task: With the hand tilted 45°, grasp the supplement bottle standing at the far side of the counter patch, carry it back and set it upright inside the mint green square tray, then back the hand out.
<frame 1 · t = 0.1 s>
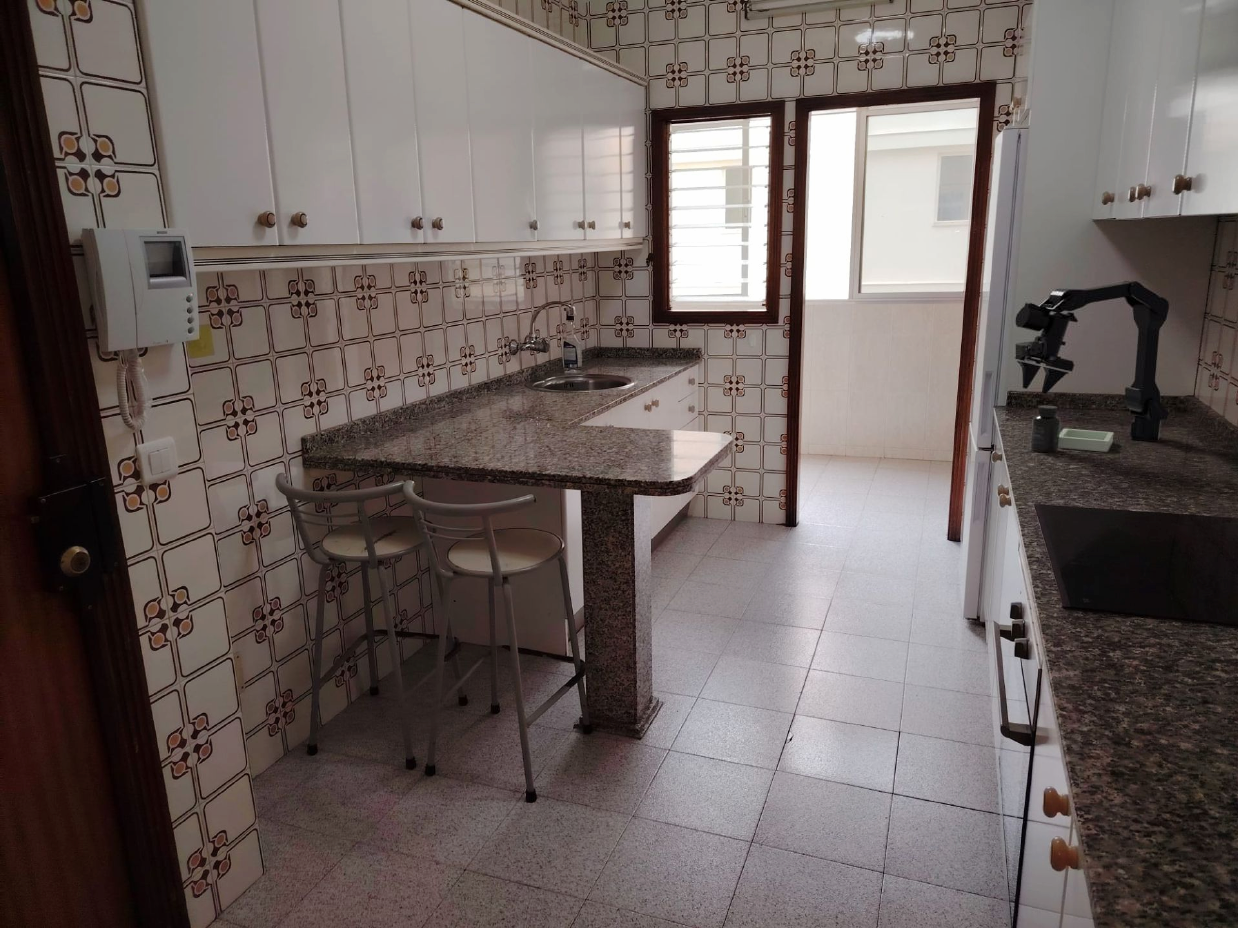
hand: (1033, 391, 233), 15 cm above the counter, tool pointing down, fingers open, 9 cm apart
mint green square tray: (1084, 444, 236), on the counter
supplement bottle: (1043, 450, 232), on the counter
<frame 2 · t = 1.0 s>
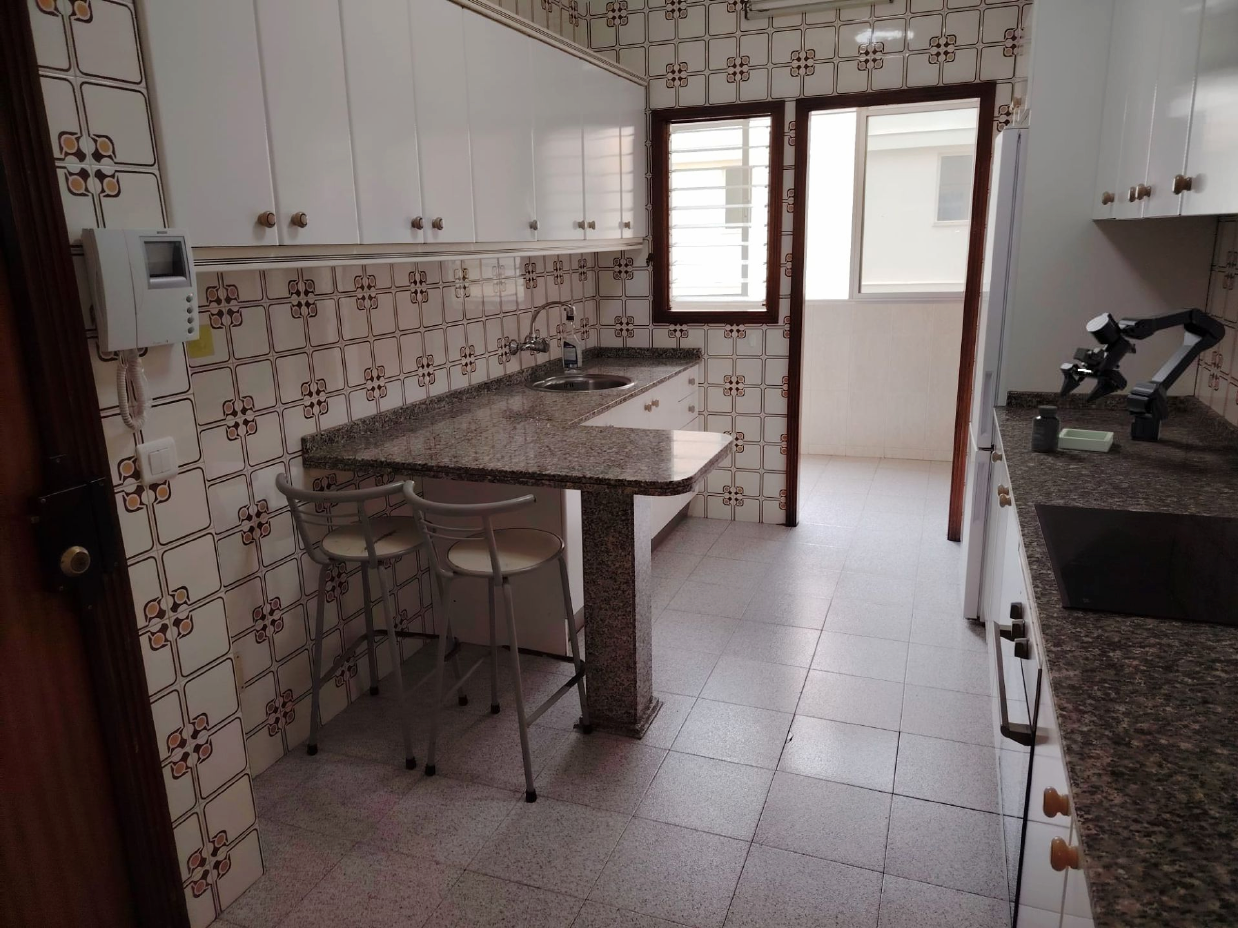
hand: (1072, 399, 231), 13 cm above the counter, tool tilted 45°, fingers open, 9 cm apart
nothing on the counter moved.
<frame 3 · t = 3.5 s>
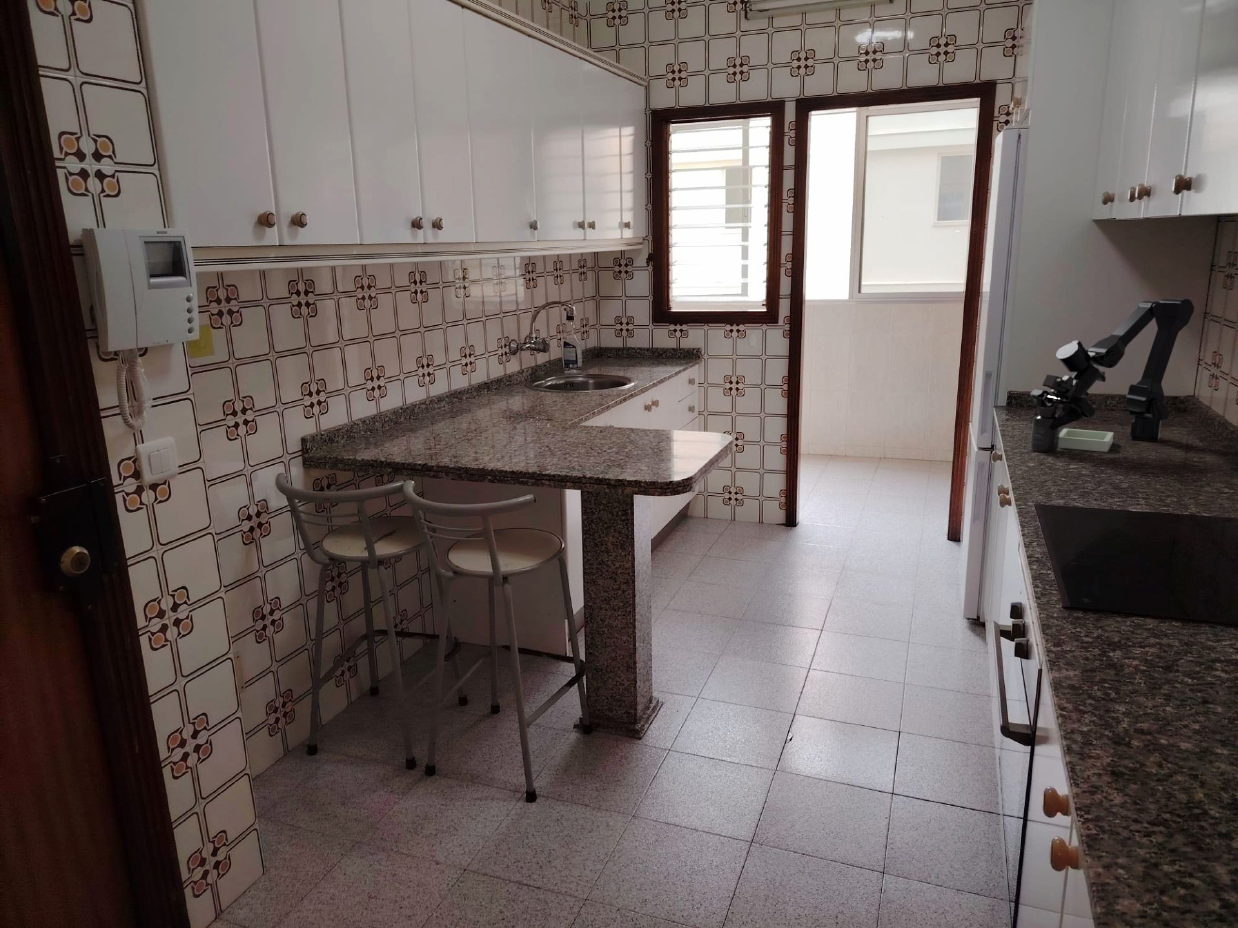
hand: (1041, 426, 230), 7 cm above the counter, tool tilted 45°, fingers closed on supplement bottle, 7 cm apart
supplement bottle: (1043, 450, 232), on the counter, touching gripper
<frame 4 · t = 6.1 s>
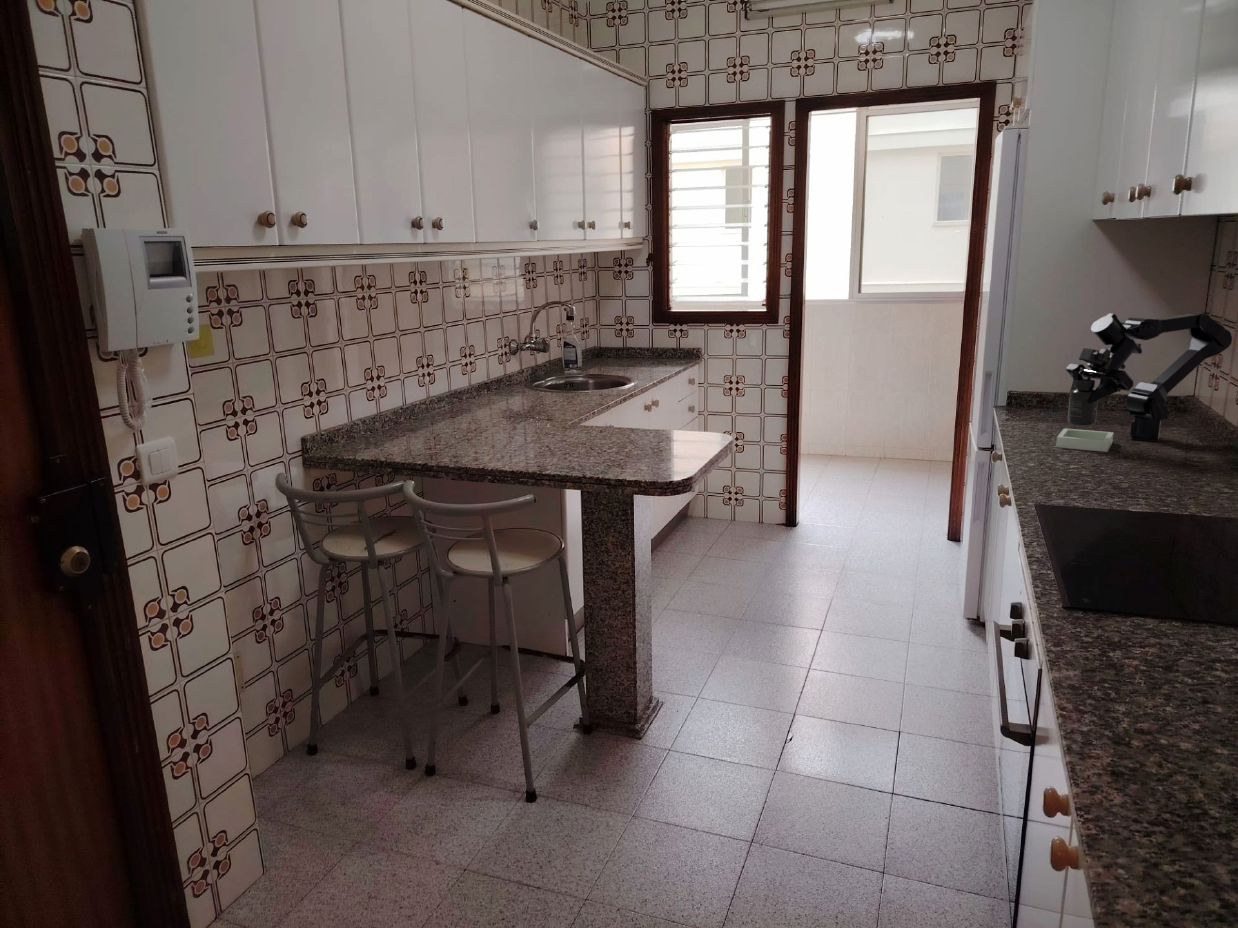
hand: (1079, 400, 232), 13 cm above the counter, tool tilted 45°, fingers closed on supplement bottle, 7 cm apart
supplement bottle: (1081, 424, 234), point 6 cm above the counter, touching gripper
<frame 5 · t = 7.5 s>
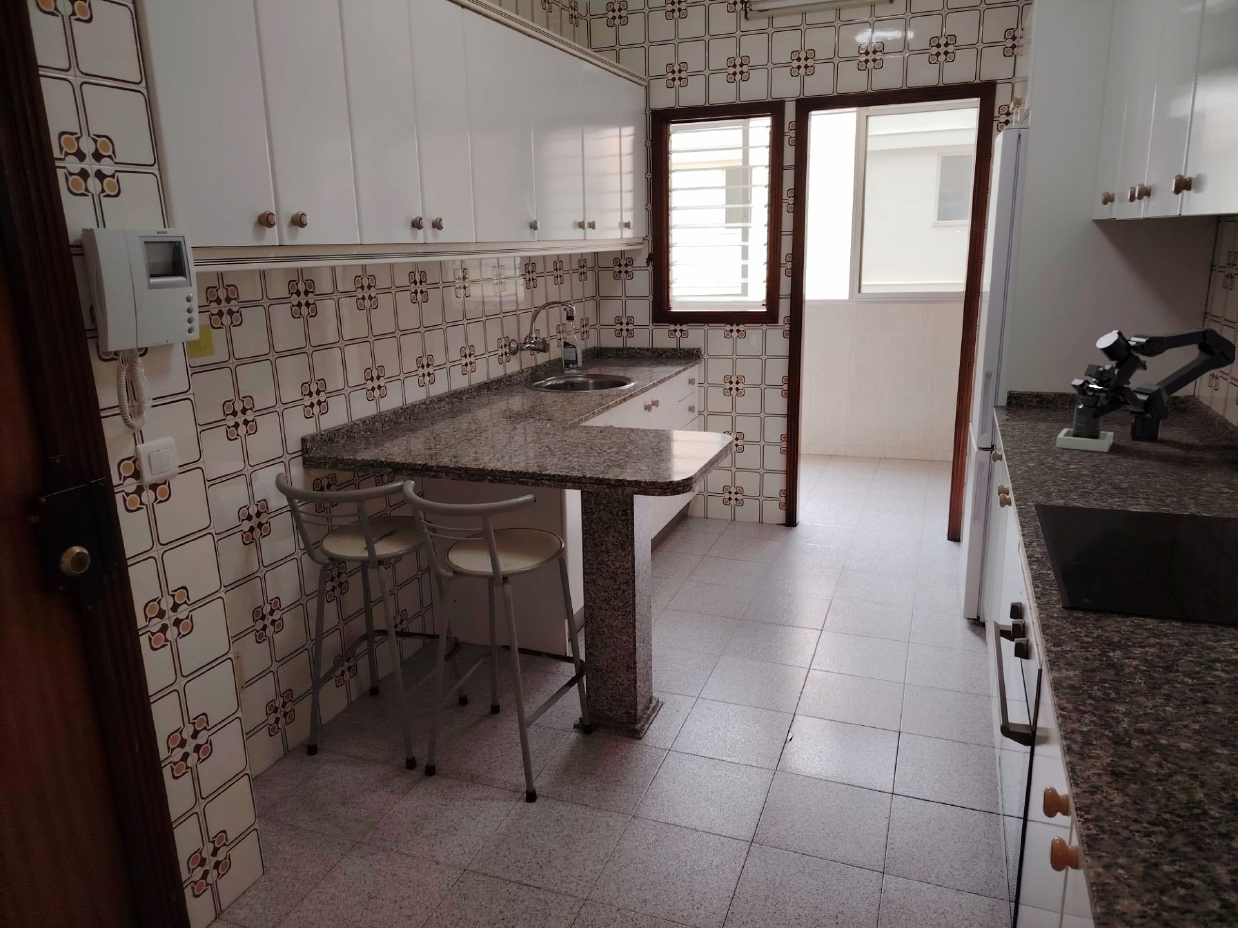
hand: (1083, 415, 233), 8 cm above the counter, tool tilted 45°, fingers closed on supplement bottle, 7 cm apart
supplement bottle: (1085, 439, 235), point 2 cm above the counter, touching gripper
when the fingers open (8 cm above the counter, at t = 8.4 s): supplement bottle drops 1 cm, resting on mint green square tray.
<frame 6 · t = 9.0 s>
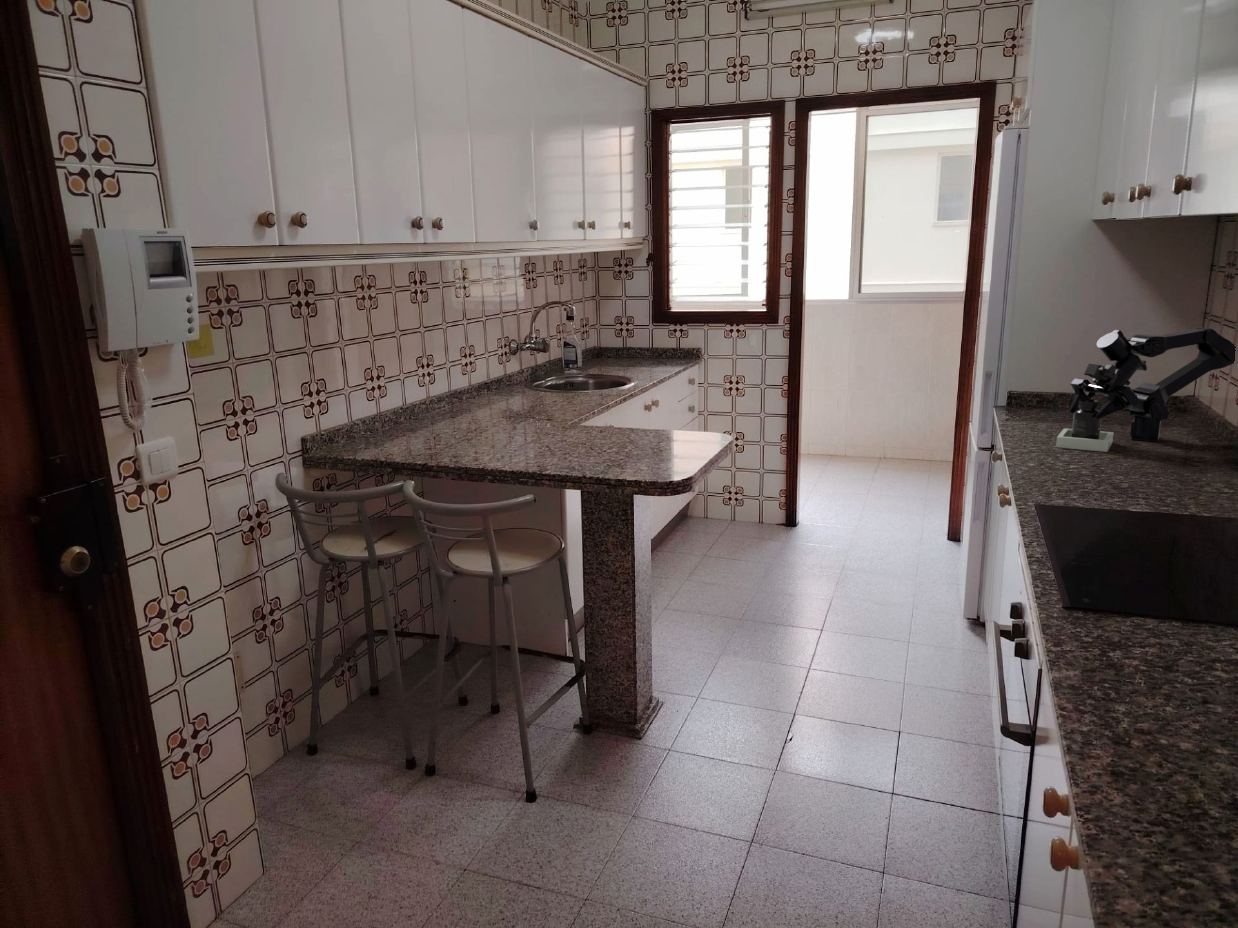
hand: (1083, 415, 233), 9 cm above the counter, tool tilted 45°, fingers open, 9 cm apart
supplement bottle: (1084, 444, 236), resting on mint green square tray
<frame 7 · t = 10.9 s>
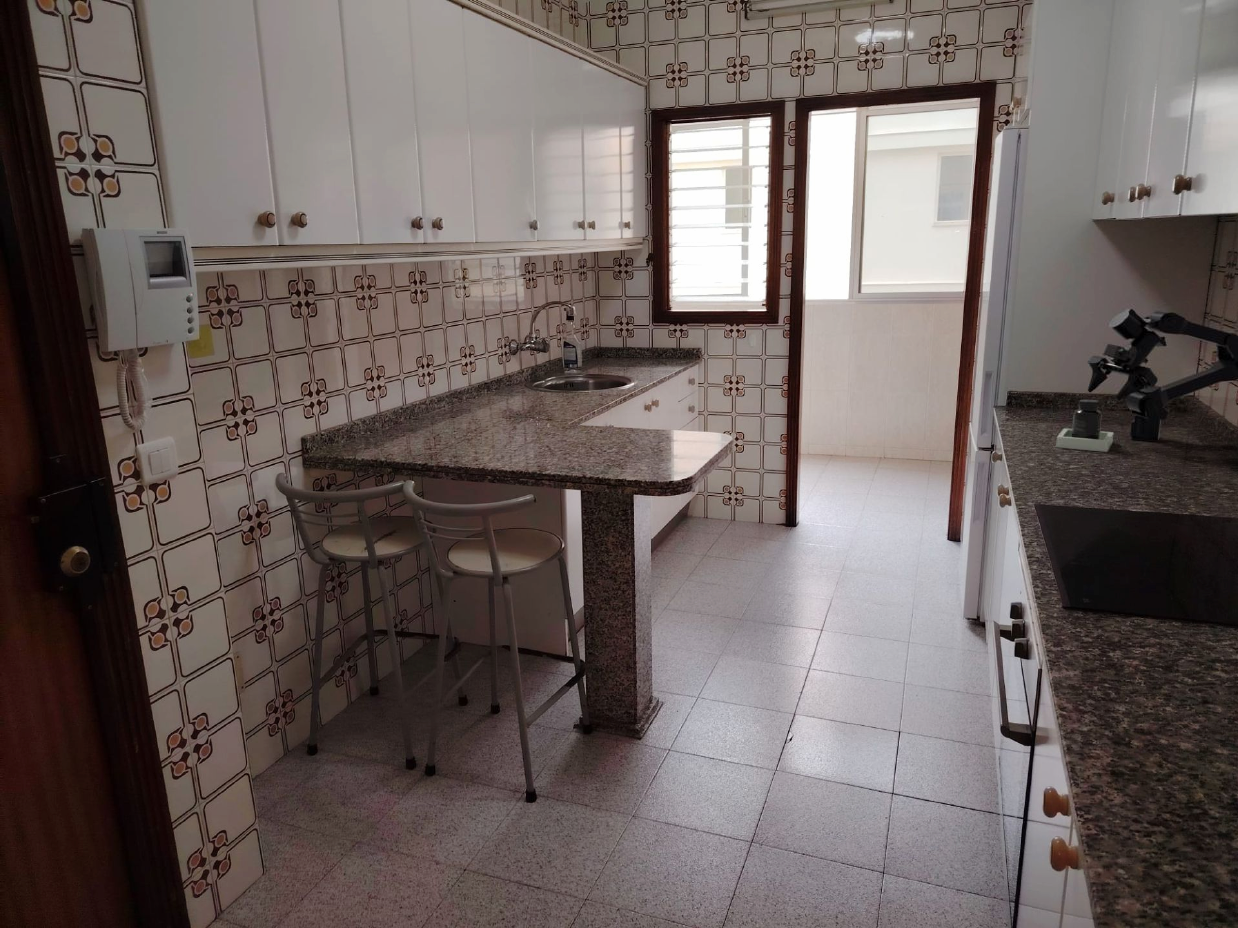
hand: (1102, 395, 234), 13 cm above the counter, tool tilted 40°, fingers open, 9 cm apart
nothing on the counter moved.
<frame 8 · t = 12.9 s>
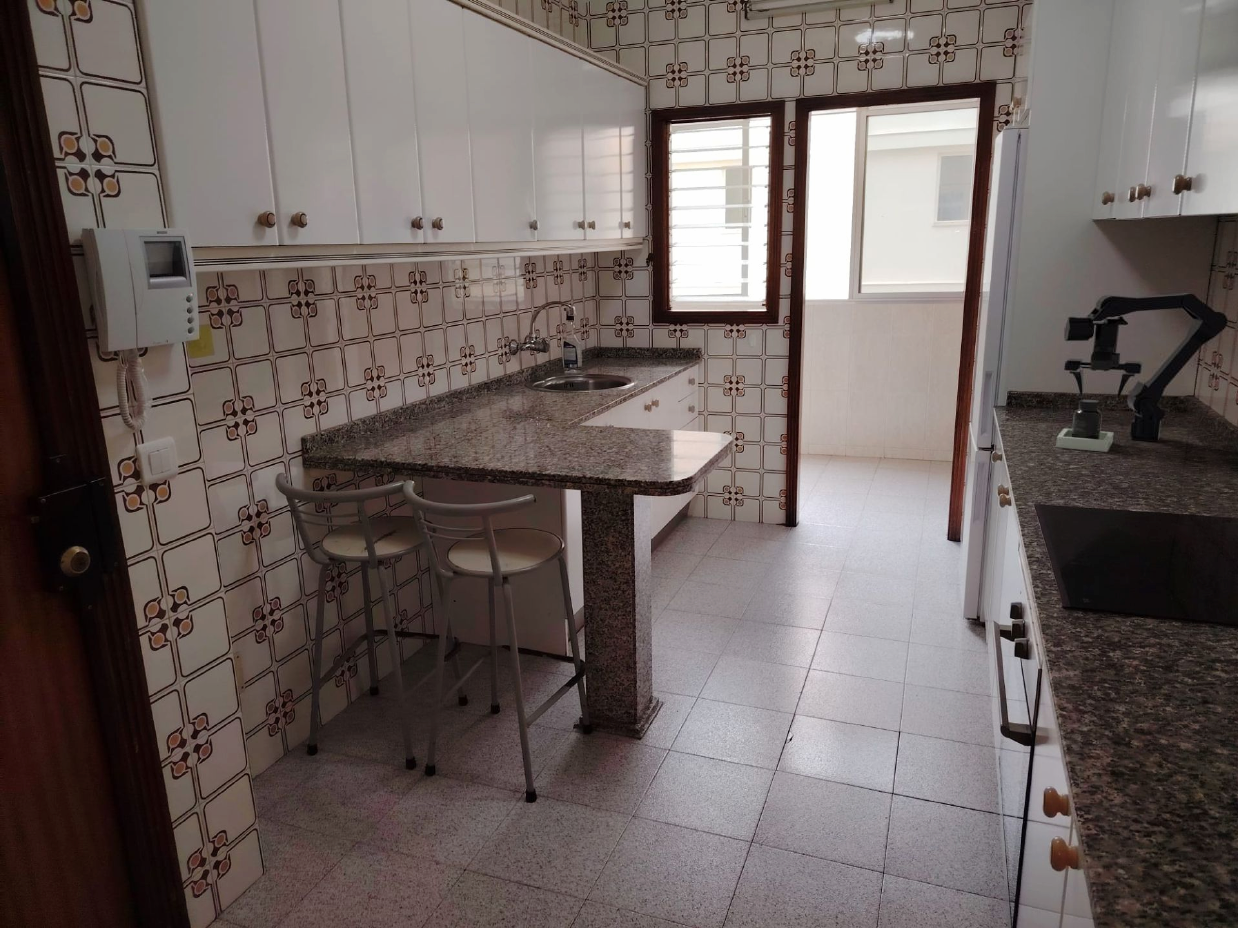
hand: (1099, 396, 241), 12 cm above the counter, tool pointing down, fingers open, 9 cm apart
nothing on the counter moved.
at the end: supplement bottle 0.1 cm off-centre on the mint green square tray, point 0.2 cm above the mint green square tray's base; supplement bottle tilted 0°; the gripper is holding nothing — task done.
